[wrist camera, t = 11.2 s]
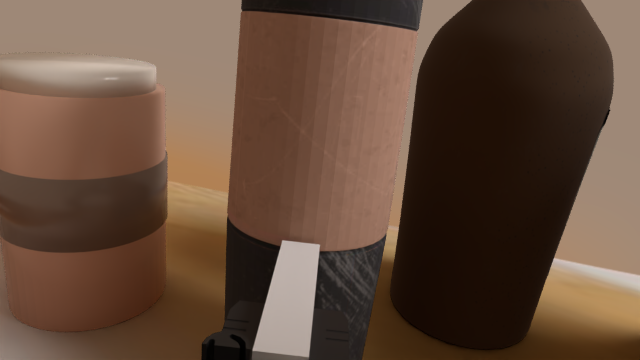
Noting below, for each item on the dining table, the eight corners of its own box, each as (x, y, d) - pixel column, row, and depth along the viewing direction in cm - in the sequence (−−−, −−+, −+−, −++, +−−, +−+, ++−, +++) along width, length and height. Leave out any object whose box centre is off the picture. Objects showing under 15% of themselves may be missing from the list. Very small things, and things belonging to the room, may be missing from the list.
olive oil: (399, 355, 27) (499, -152, 19) (369, 263, 37) (425, -95, 29) (572, 362, 28) (738, -115, 20) (497, 270, 38) (587, -72, 30)
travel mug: (342, 323, 29) (391, -19, 24) (382, 417, 22) (466, -39, 16) (218, 326, 28) (239, -42, 22) (218, 429, 20) (248, -75, 15)
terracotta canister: (148, 244, 36) (146, 55, 31) (185, 309, 29) (188, 77, 24) (6, 266, 31) (-22, 47, 27) (7, 351, 24) (-32, 71, 19)
